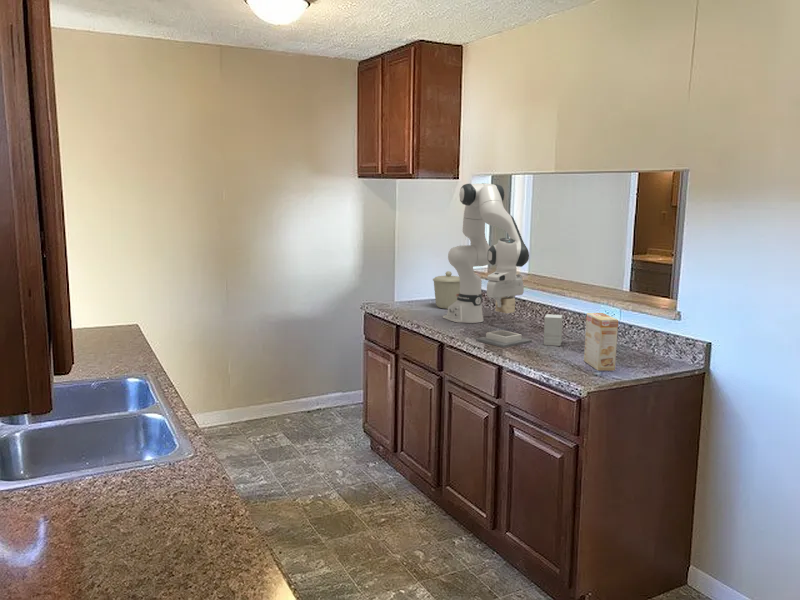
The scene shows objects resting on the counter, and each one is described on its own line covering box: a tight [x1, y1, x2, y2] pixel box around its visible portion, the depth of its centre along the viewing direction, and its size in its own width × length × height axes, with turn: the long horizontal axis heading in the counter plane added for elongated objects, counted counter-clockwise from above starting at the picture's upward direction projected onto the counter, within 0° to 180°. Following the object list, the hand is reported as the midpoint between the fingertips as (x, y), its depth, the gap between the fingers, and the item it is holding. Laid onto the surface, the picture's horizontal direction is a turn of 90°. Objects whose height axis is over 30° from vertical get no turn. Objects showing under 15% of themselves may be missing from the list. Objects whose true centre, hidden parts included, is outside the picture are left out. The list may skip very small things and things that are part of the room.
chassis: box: [475, 329, 533, 348], centre depth 294 cm, size 17×18×4 cm
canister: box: [432, 270, 460, 310], centre depth 378 cm, size 18×18×21 cm
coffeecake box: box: [583, 312, 619, 372], centre depth 252 cm, size 15×7×20 cm, turn 5°
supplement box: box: [543, 313, 564, 347], centre depth 289 cm, size 7×7×13 cm
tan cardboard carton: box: [495, 297, 516, 314], centre depth 292 cm, size 7×5×6 cm
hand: (505, 306), depth 292 cm, fingers closed on tan cardboard carton, 5 cm apart
